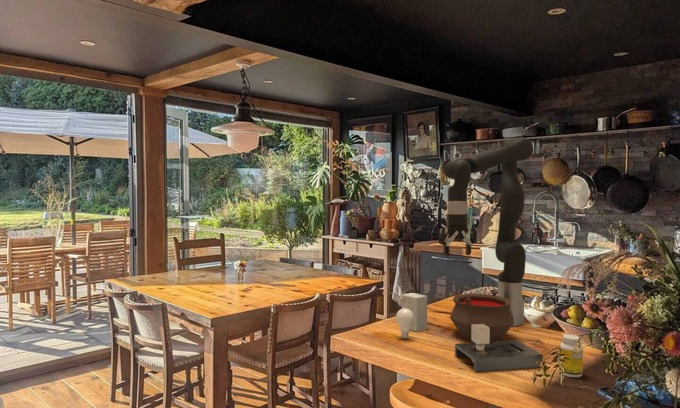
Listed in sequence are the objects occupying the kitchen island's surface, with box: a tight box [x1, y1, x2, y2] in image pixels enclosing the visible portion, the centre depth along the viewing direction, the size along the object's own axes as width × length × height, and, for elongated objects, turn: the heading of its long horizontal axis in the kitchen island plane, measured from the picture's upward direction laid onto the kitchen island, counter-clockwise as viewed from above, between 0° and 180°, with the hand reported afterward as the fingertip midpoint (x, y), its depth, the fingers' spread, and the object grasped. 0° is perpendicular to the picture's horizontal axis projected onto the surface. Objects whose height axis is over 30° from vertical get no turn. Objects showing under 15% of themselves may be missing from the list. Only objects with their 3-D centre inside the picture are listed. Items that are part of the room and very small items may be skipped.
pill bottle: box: [558, 333, 584, 378], centre depth 137 cm, size 6×6×11 cm
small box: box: [401, 292, 428, 332], centre depth 182 cm, size 8×6×13 cm
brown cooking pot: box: [449, 288, 514, 342], centre depth 172 cm, size 24×24×16 cm
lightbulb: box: [395, 308, 414, 340], centre depth 168 cm, size 6×6×11 cm
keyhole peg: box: [470, 324, 490, 365], centre depth 145 cm, size 5×5×12 cm
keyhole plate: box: [454, 339, 544, 373], centre depth 146 cm, size 22×14×4 cm, turn 101°
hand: (457, 255), depth 177 cm, fingers open, 8 cm apart
